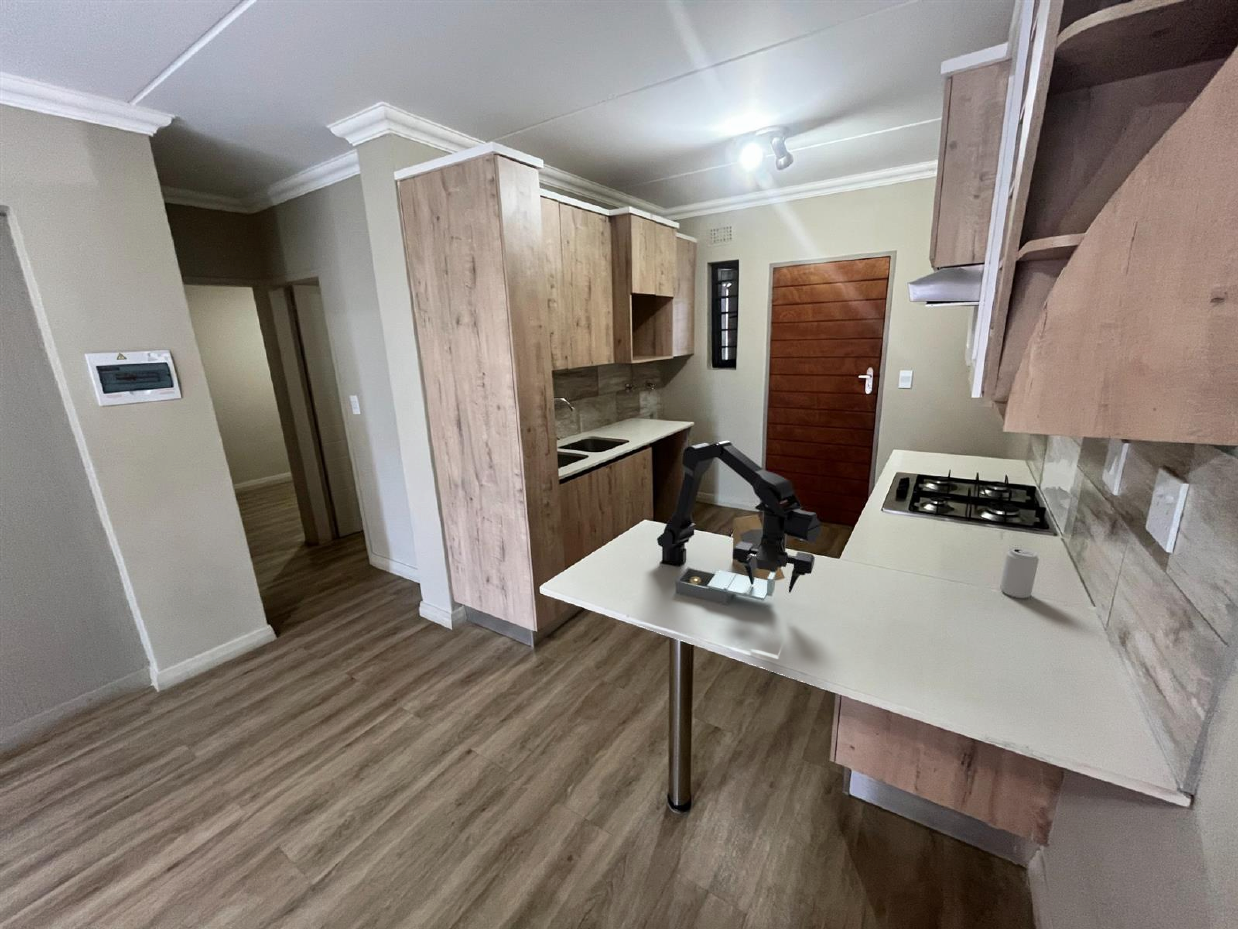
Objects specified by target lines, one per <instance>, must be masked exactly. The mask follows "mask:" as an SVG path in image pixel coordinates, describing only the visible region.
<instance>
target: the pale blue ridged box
mask: <svg viewBox="0 0 1238 929" xmlns="http://www.w3.org/2000/svg"><path fill="white" fill-rule="evenodd" d="M715 573H716V574H715V576H714V577H713V578H712V580H711V581H710V582H709V584H708V585H707V588H710V589H714V590H719V591H723V592H727V593H732V594H733V595H736V596H741V597H746V598H750V599H754V600H758V601H762V602H765V600H766V598H767V596H768V597H772V596H773V594H774V592H775V588H776V581H775V574H776V573H773V572H770V574H769V576H768V579H767V580H763V579H759V578H755V577H754V583H753V585H752V584H751V582H750V579H749V576H748V575H744V574H739V573H736V572H730V571H724V570H720V569H719V570H717V571H716V572H715Z"/></svg>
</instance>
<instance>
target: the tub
mask: <svg viewBox="0 0 1238 929" xmlns="http://www.w3.org/2000/svg"><path fill="white" fill-rule="evenodd" d="M716 573H717V572H711V571H708V570H702V569H698V568H694V567H689V566H687V567H686V569H685V570H684V571H683V572H682V574H680V576H679V577H678V579H676V581H675V594H679V595H684V596H687V597H691V598H696V599H699V600H704V601H708V602H712V603H715V604H716V603H717V604H720V605H725V606H728V605H729V602H730V601H731V599H732V598H733V595H734V594H732V593H727V592H723V591H719V590H714V589H710V588H707V585H708V584H709V582H710V581H711V580H712V578H713V577H714V576H715V574H716ZM691 577H699V578H700V579H701V586H700V585H695V584H691V583H690V578H691Z"/></svg>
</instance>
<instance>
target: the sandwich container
mask: <svg viewBox="0 0 1238 929" xmlns="http://www.w3.org/2000/svg"><path fill="white" fill-rule="evenodd" d="M732 528H733V529H732V531H733V534H732V539H733V540H732V550H733V549H734V548H735V546H736V545H737V543H739V542H746V543H752V544H753V545H754V549H758V547H759V545H760V543H761V536H762V521H761V519H760V517H759V514H752V515H746V516H740V517H734V518H733V527H732ZM732 563H733V564H734V565H735V566H736V567H738V568H739V569H741V571H743V572H745V573H746V574H748V573H747V571H746V569H745V567H744V565H743V564H741V563H739V562H738V560H735V559H733V558H732ZM770 572H772V571H769V570H765V569H758V568H757V566H756V557H754V577H755V578H759V579H763V580H767V579H768V576H769V574H770ZM773 573H776V574H775V582H776V581H779V580H783V579H786V576H785V574H784V572H783V570H782V567H781V568H780V567H778V569H777V571H775V572H773Z"/></svg>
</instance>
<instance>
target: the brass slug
mask: <svg viewBox="0 0 1238 929" xmlns="http://www.w3.org/2000/svg"><path fill="white" fill-rule="evenodd" d="M690 583H691V584H695V585H700V586H701V579H700V578H699V577H691V578H690Z"/></svg>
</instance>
